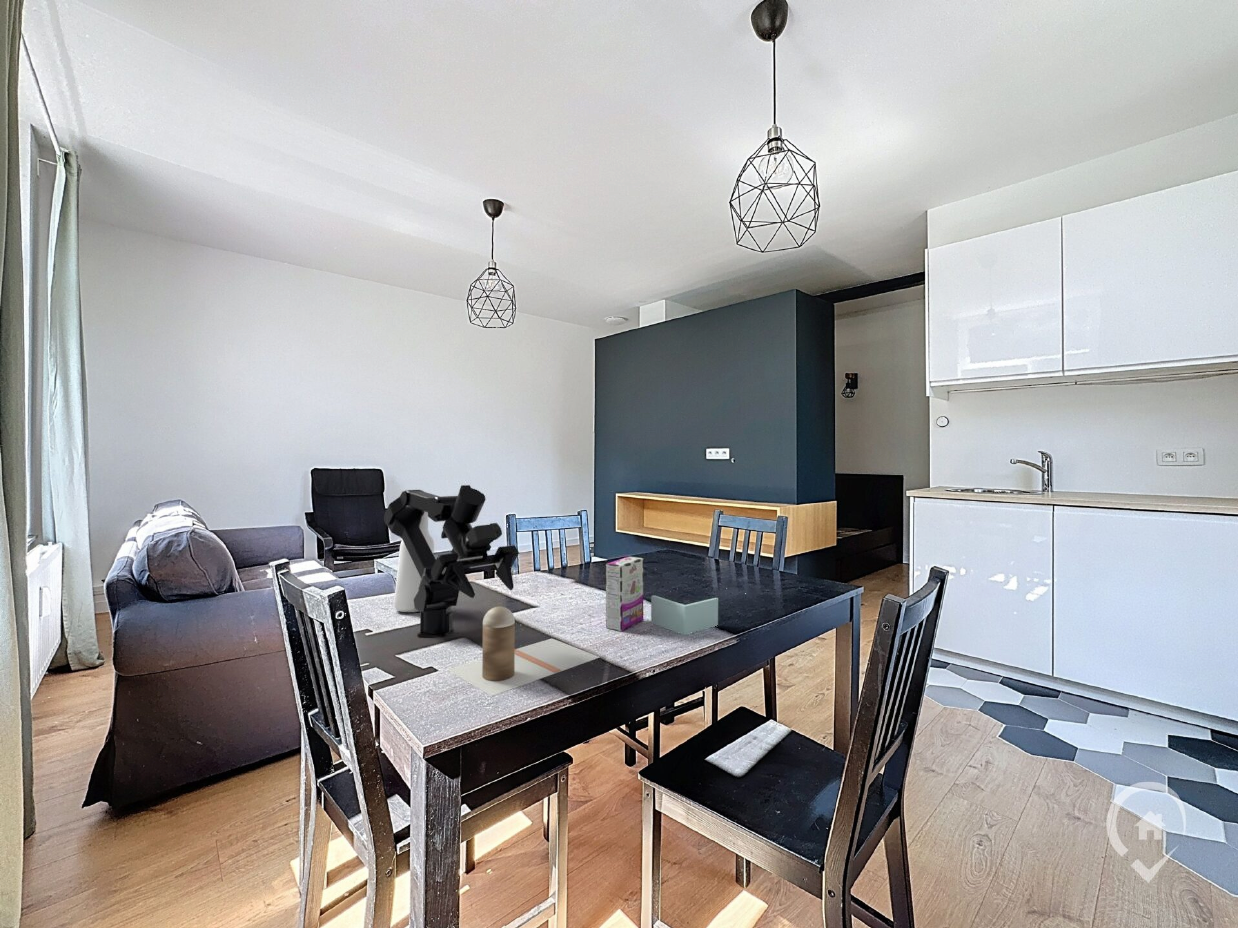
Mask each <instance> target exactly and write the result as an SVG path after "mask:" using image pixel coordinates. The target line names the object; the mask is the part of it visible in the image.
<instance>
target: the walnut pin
mask: <svg viewBox="0 0 1238 928" xmlns="http://www.w3.org/2000/svg"><path fill="white" fill-rule="evenodd" d="M515 622H516V621H515V617H514V614H513V612H512V611H511V610H510V609H509V608H507V607H506V606H505V607H504V606H495V607H492V608H490V609H489V610H488V611H487V612H486V613H485V615H484V616H483V620H482V654H481V655H482V658H481V659H482V677H483V678H484V679H485V680H488V681H503V680H507V679H510V678H511V677H513V676H514V665H515V649H516V648H515V647H516V646H515V643H516V641H515V639H516V632H515V631H516V626H515V625H516V623H515Z"/></svg>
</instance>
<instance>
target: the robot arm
mask: <svg viewBox="0 0 1238 928" xmlns="http://www.w3.org/2000/svg"><path fill="white" fill-rule="evenodd" d="M486 499H487V498H486V496H485V494H484V493H483V492H481V491H480V490H478V489H476V488H473V487H471V485H470V484H464V485H461V486H460V488H459V492H458V494H457V495H447V496H443V495H442V496H440V495H436V494H433V493H429V492H426V491H424V490H423V489H407V490H406V489H405V491H401V494H400V495H399V496H398V497H397V498H396V499H394V500H393V501H391V502H390V503H389V504H388V506H387V508H386V510H385V512H384V517H383V520H384V523H385V525H386V526H387V528H388V529H389V531H390V533H392V534H393V535H395V536H397V537H399V538H401V541H402V540H403V542H404V544H405V546H406V548H407V550H408V552H409V554H410V556H411V558H412V560H413V562H414V565H415V567H416V569H417V571H418V573H419V575H420V577H421V581H420V585H419V591H418V593H417V594H416V596H415V598H414V607H415V609H417V610H419V612H420V614H419V615H420V617H419V619H420V622H419V624H420V625H419V627H420V628H419V629H420V631H419V632H418V633H416V634H417V635H416V636H417V637H427V638H428V637H430V638H431V637H433V638H444V637H446V636H447V635H448V634H449V633H450V632H451V631H452V630H454V626H453V625H454V620H453V619H454V612H453V611H452V609H451V608H452V607H456V606H457V604H458V599H459V598H458V597H459V594H460V593H459V592H461V593H462V594H464V595H466V597H469V598H471V599H474V598H475V597H476V596H475V595H476V592H475V589H474V588H473V586H472V584H471V582H470V580H469V579H468V577H467V575H466V573H465V570H464V569H474V568H480V567H487V566H492V568H493V570H494V571H495V576H497V578H498V579H499V580H500V581H501V582H502V583H503V585H505V587H506V588H507V589H509V590H510V591H513V589H514V579H513V574H512V573H513V572H512V567H513V565H514V563H515V561H516V559H517V558H518V557H519V554H520V552H519V550H518V548H517V546H516V545H515V544H513V545H511V544H510V545H503V546H502V545H501V546H498V547H497V549H496V551H495V553H494V554H490V555H489V554H488V552H490V550H491V548H492V545H491V544H492V543H493V542H494V541H496V540H498V539H500V537H501V536H503V535H502V534H503V531H502V527H501V526H500V525H499V524H498V523H497V522H493V523H492V522H491V523H489V524H483V525H475V526H474V527H472V526H473V525H471V524H473V523H475V522H477V520H478V519H479V515H480V513H481V511H482V509H483V507H484V504H485V502H486ZM424 511H425V512H428V519H431V521H433V522H435V523H438V522H443V525H442V531H441V534H440V535H441V536H440V538H441V539H448V541H449V543H450V545H451V548H452V549H451V552H450V553H449V552H448V553H442V554H438V555H437V557H435V554H434V552H433V553H432V551H431V549H430V547H429V545H428V543H427V541H426V539H425V537H424V535H423V534H422V532H421V530H420V528H419V526H420V522H421V519H422V516H423V515H424Z"/></svg>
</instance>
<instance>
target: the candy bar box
mask: <svg viewBox="0 0 1238 928" xmlns="http://www.w3.org/2000/svg"><path fill="white" fill-rule="evenodd" d="M643 620H644V558H642V557H637V556H626V557H623V558H620V559H618V560H613V561H611V562H610V561H609V562H607V563H606V564H605V628H606V629H608V630H612V631H618V632H624V631H625V630H628V629H629V628H631V627H633V626H635V625H637V624H638V623H641V622H643Z"/></svg>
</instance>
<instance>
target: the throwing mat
mask: <svg viewBox="0 0 1238 928" xmlns="http://www.w3.org/2000/svg"><path fill="white" fill-rule="evenodd" d="M598 658H599V659H600V658H601V657H600V656H599V655H595V654H592V653H590V652H588V651H585V650H582V649H580V648H577V647H575V646H573V645H570V644H567V643H565V642H563V641H560V640H557V639H554V638H549V639H545V640H541V641H537V642H536V643H532V644H528V645H525V646H521V647H518V648H515V665H514V676H513V677H511V678H510V679H507V680H503V681H488V680H485V679H484V678H483V677H482V658H481V659H479V660H475V661H471V662H468V663H465V664H461V665H458V666H455V667H451V668H448V669H446V670H447V671H448V672H450V673H452V674H453V675H455V676H457V677H458V678H460V679H462V680H463V681H465V682H467V683H469V684H471V686H474V687H476V688H477V689H478V690H481V691H482V692H484V693H485V694H487V695H489V696H490V697H494V696H496V695H499V694H502V693H504V692H508V691H509V690H510V691H511V690H514V689H515V688H518V687H521V686H524V685H527V684H529V683H532V682H535V681H538V680H541V679H543V678H545V677H550V676H553V675H554V674H558V673H560V672H563V671H567V670H569V669H572V668H575V667H577V666H579V665H582V664H585V663H588V662H591V661H594V660H596V659H598Z"/></svg>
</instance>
